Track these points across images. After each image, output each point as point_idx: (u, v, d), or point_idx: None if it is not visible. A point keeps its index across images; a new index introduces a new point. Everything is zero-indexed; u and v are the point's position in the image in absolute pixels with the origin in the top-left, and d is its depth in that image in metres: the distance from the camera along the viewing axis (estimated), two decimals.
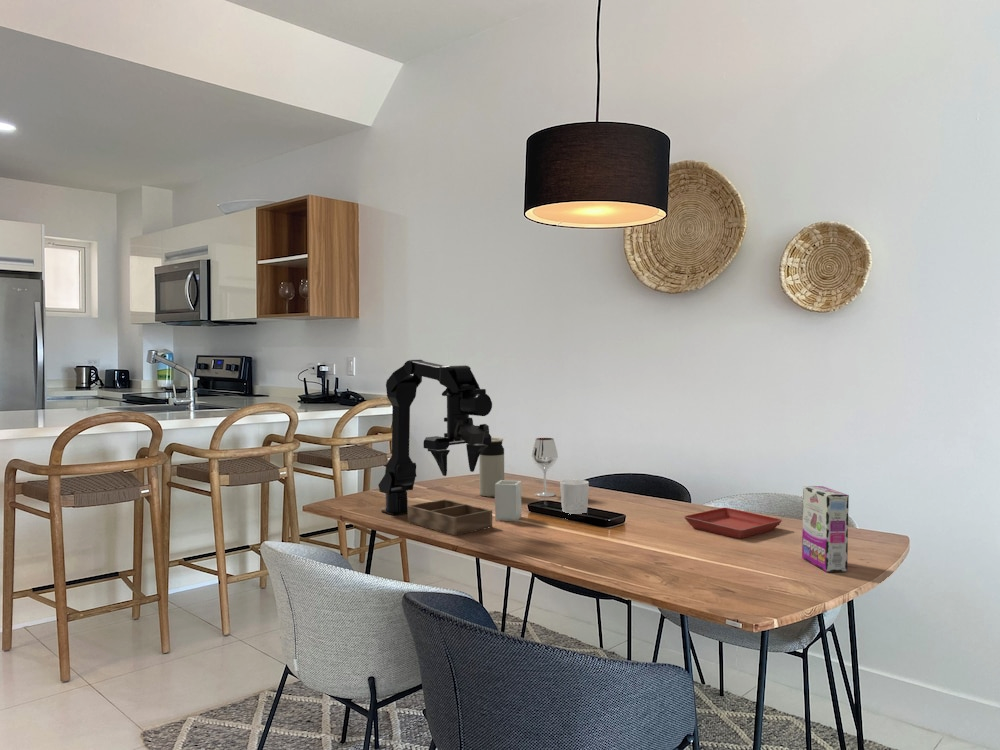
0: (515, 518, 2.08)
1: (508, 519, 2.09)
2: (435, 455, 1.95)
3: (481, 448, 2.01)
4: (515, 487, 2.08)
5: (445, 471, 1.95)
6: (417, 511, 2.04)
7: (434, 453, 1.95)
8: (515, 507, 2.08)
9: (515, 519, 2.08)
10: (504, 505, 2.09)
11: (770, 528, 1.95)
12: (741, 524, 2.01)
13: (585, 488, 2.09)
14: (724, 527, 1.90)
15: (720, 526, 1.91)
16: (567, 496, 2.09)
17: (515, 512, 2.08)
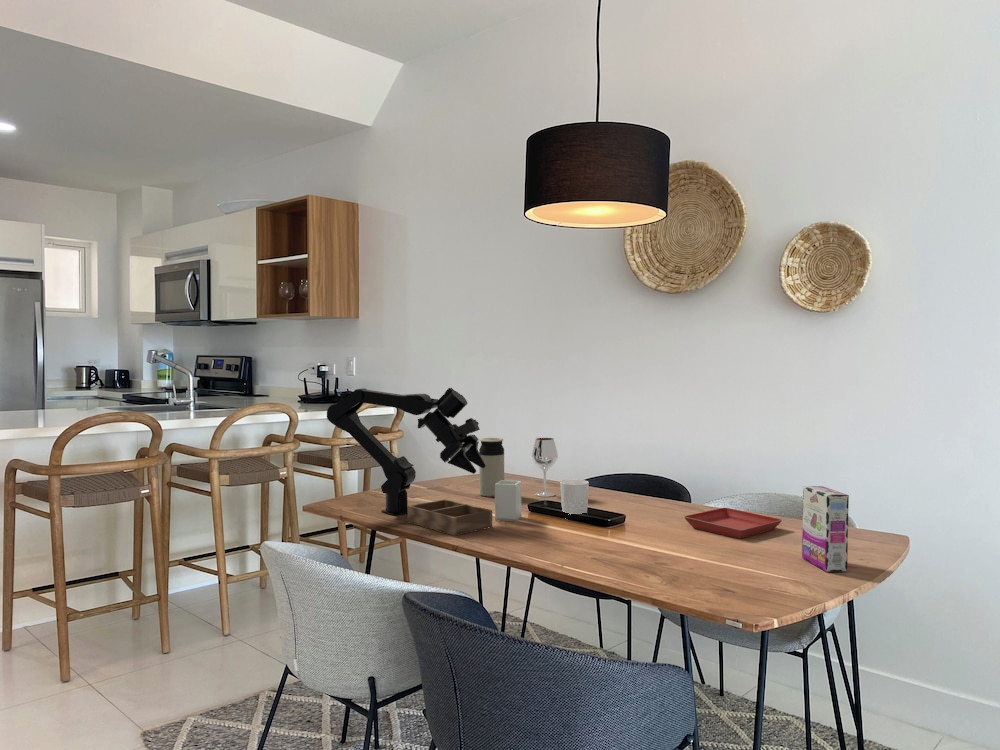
0: (515, 518, 2.08)
1: (508, 519, 2.09)
2: (456, 463, 2.08)
3: (476, 444, 2.19)
4: (515, 487, 2.08)
5: (473, 467, 2.08)
6: (417, 511, 2.04)
7: (454, 462, 2.08)
8: (515, 507, 2.08)
9: (515, 519, 2.08)
10: (504, 505, 2.09)
11: (770, 528, 1.95)
12: (741, 524, 2.01)
13: (585, 488, 2.09)
14: (724, 527, 1.90)
15: (720, 526, 1.91)
16: (567, 496, 2.09)
17: (515, 512, 2.08)
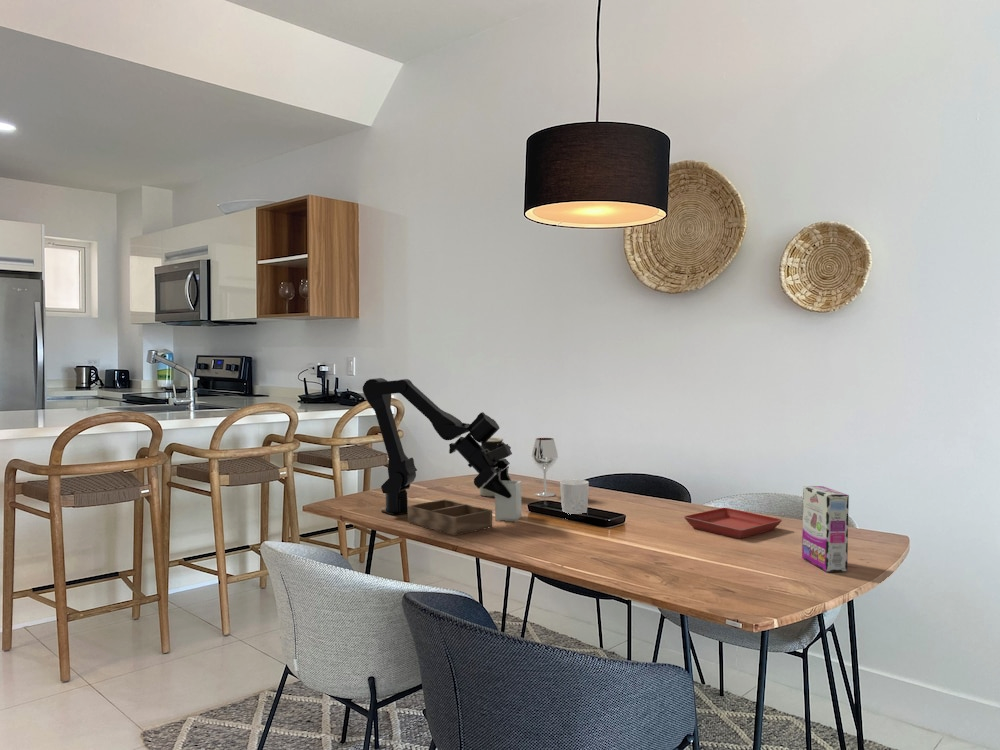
0: (515, 518, 2.08)
1: (508, 519, 2.09)
2: (491, 488, 2.08)
3: (507, 469, 2.16)
4: (515, 487, 2.08)
5: (508, 492, 2.08)
6: (417, 511, 2.04)
7: (489, 487, 2.07)
8: (515, 507, 2.08)
9: (515, 519, 2.08)
10: (504, 505, 2.09)
11: (770, 528, 1.95)
12: (741, 524, 2.01)
13: (585, 488, 2.09)
14: (724, 527, 1.90)
15: (720, 526, 1.91)
16: (567, 496, 2.09)
17: (515, 512, 2.08)
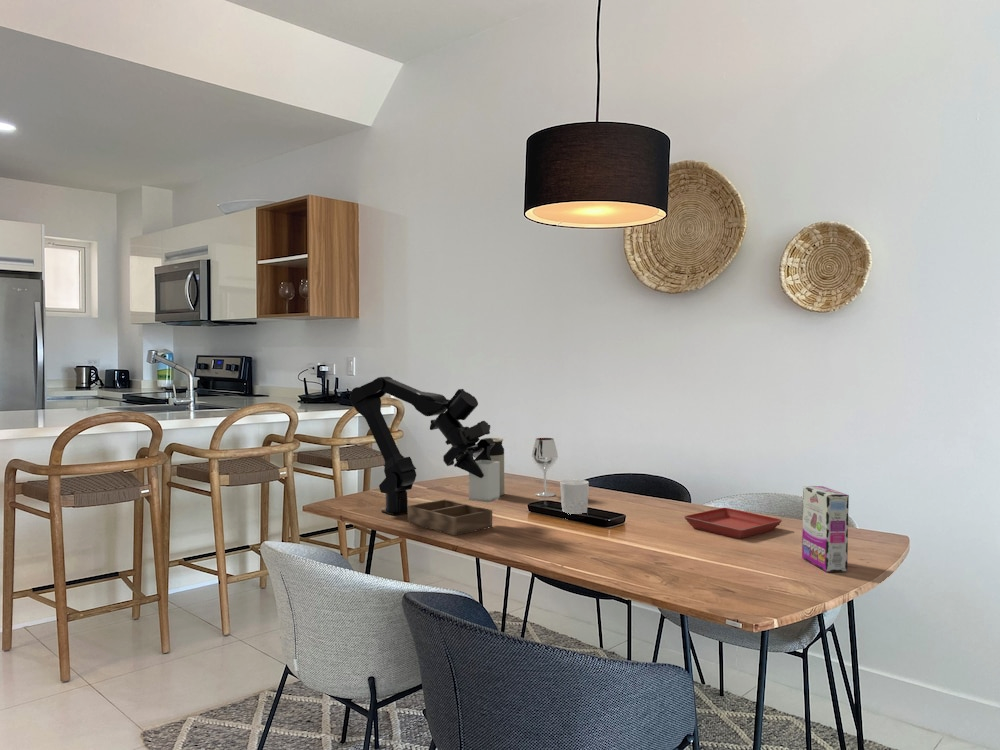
0: (487, 499, 2.01)
1: (481, 499, 2.02)
2: (463, 466, 2.02)
3: (488, 449, 2.09)
4: (487, 467, 2.01)
5: (480, 471, 2.01)
6: (417, 511, 2.04)
7: (461, 465, 2.02)
8: (487, 487, 2.01)
9: (487, 500, 2.01)
10: (477, 484, 2.02)
11: (770, 528, 1.95)
12: (741, 524, 2.01)
13: (585, 488, 2.09)
14: (724, 527, 1.90)
15: (720, 526, 1.91)
16: (567, 496, 2.09)
17: (487, 493, 2.01)
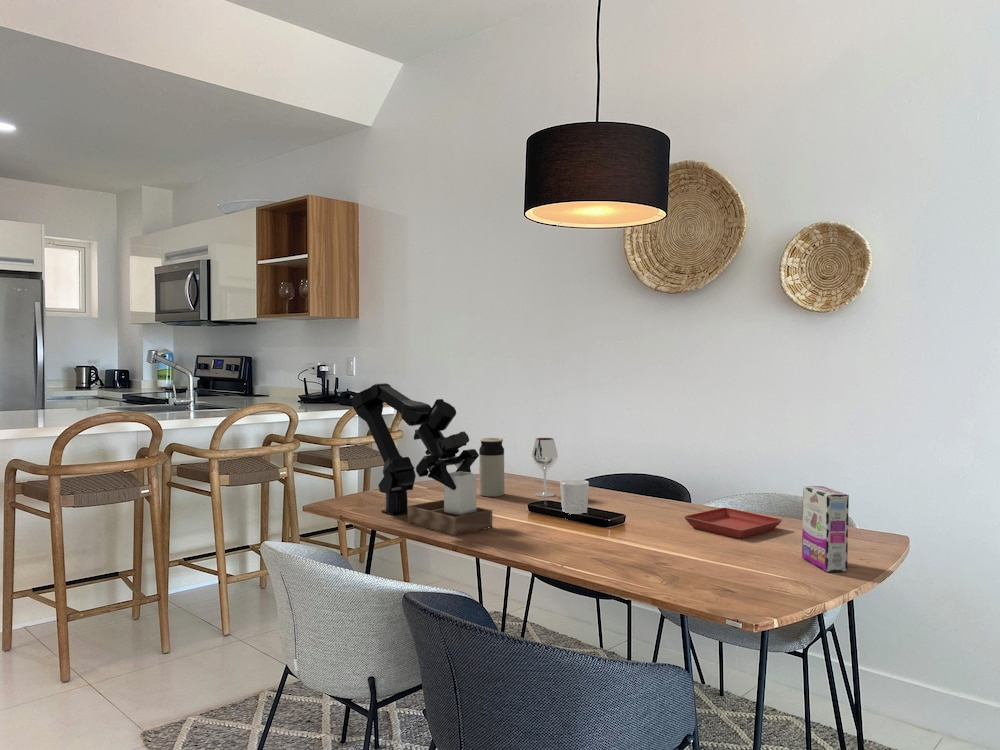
0: (459, 512, 1.97)
1: (454, 512, 1.98)
2: (437, 477, 1.99)
3: (468, 461, 2.05)
4: (459, 479, 1.97)
5: (453, 483, 1.98)
6: (417, 511, 2.04)
7: (435, 476, 2.00)
8: (459, 500, 1.97)
9: (459, 513, 1.97)
10: (450, 496, 1.99)
11: (770, 528, 1.95)
12: (741, 524, 2.01)
13: (585, 488, 2.09)
14: (724, 527, 1.90)
15: (720, 526, 1.91)
16: (567, 496, 2.09)
17: (459, 505, 1.97)
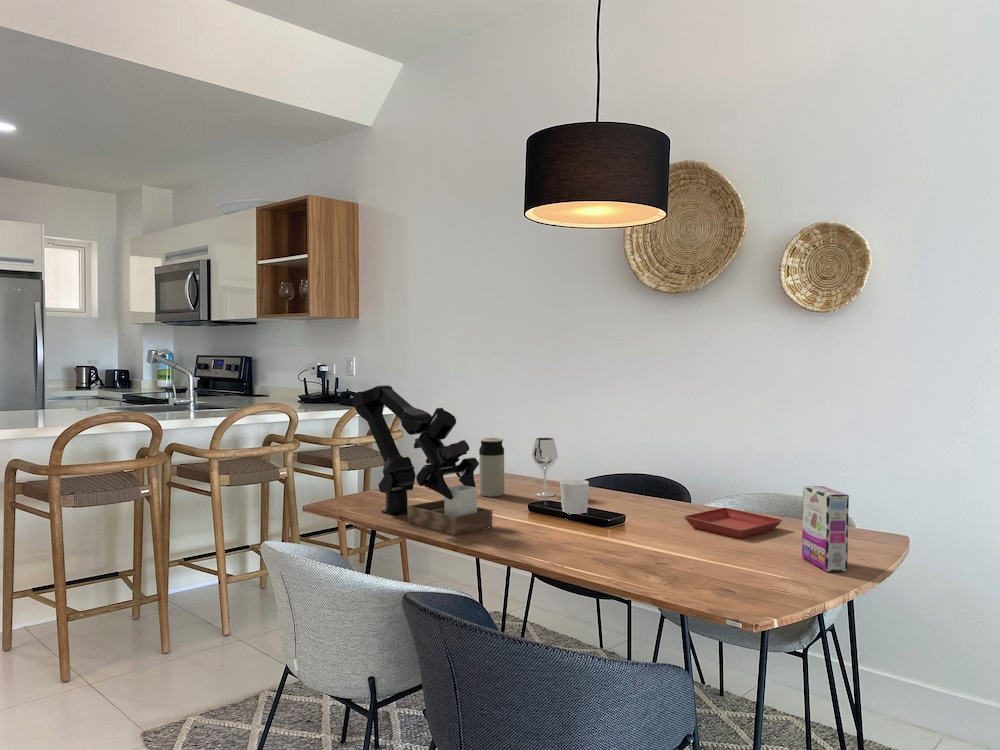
0: None
1: None
2: (434, 487, 1.99)
3: (471, 469, 2.06)
4: (459, 493, 1.97)
5: (450, 493, 1.97)
6: (417, 511, 2.04)
7: (432, 486, 1.99)
8: (459, 514, 1.97)
9: None
10: (451, 510, 1.99)
11: (770, 528, 1.95)
12: (741, 524, 2.01)
13: (585, 488, 2.09)
14: (724, 527, 1.90)
15: (720, 526, 1.91)
16: (567, 496, 2.09)
17: None
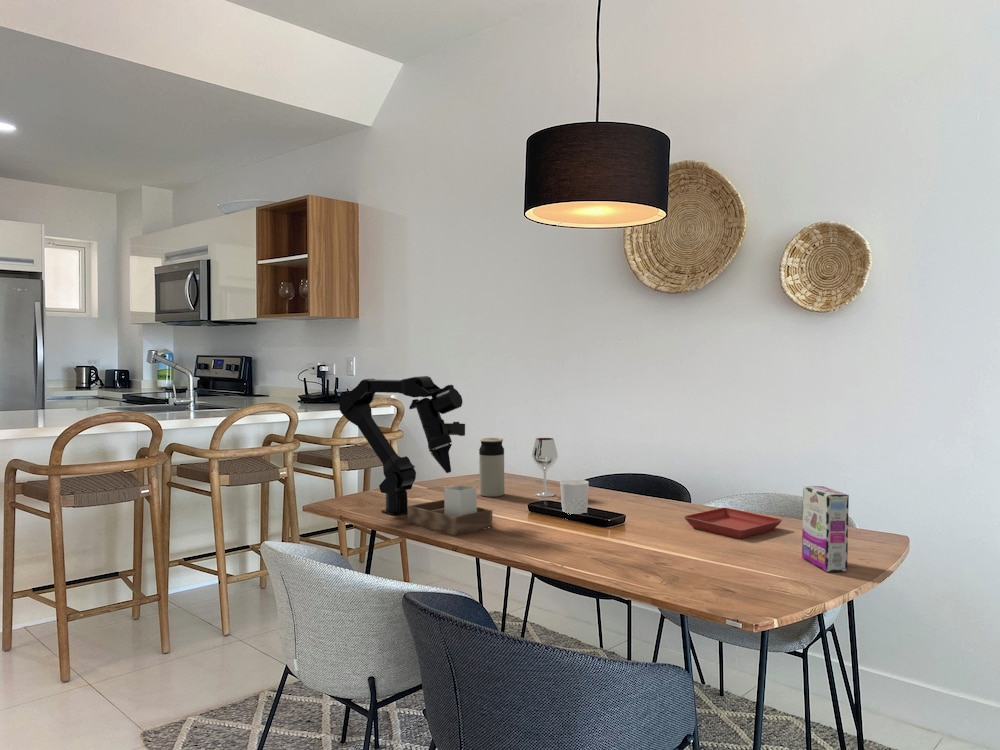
0: None
1: None
2: (437, 455, 2.06)
3: None
4: (459, 493, 1.97)
5: (450, 466, 2.07)
6: (417, 511, 2.04)
7: (436, 453, 2.05)
8: (459, 514, 1.97)
9: None
10: (451, 510, 1.99)
11: (770, 528, 1.95)
12: (741, 524, 2.01)
13: (585, 488, 2.09)
14: (724, 527, 1.90)
15: (720, 526, 1.91)
16: (567, 496, 2.09)
17: None
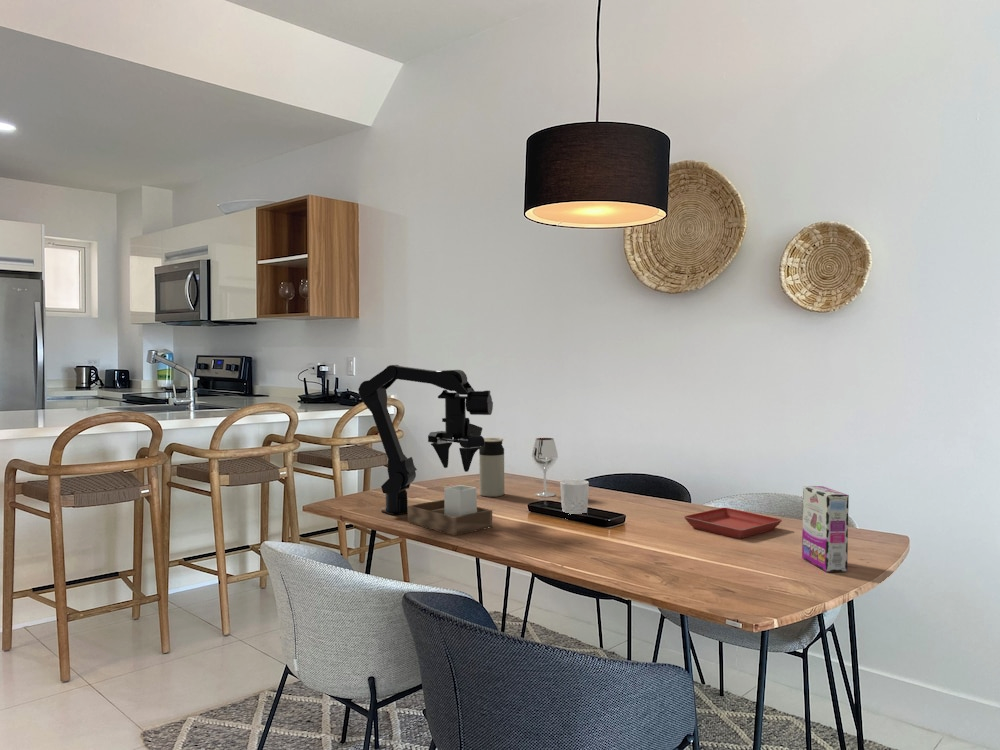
0: None
1: None
2: (465, 453, 2.10)
3: None
4: (459, 493, 1.97)
5: None
6: (417, 511, 2.04)
7: (465, 452, 2.09)
8: (459, 514, 1.97)
9: None
10: (451, 510, 1.99)
11: (770, 528, 1.95)
12: (741, 524, 2.01)
13: (585, 488, 2.09)
14: (724, 527, 1.90)
15: (720, 526, 1.91)
16: (567, 496, 2.09)
17: None
